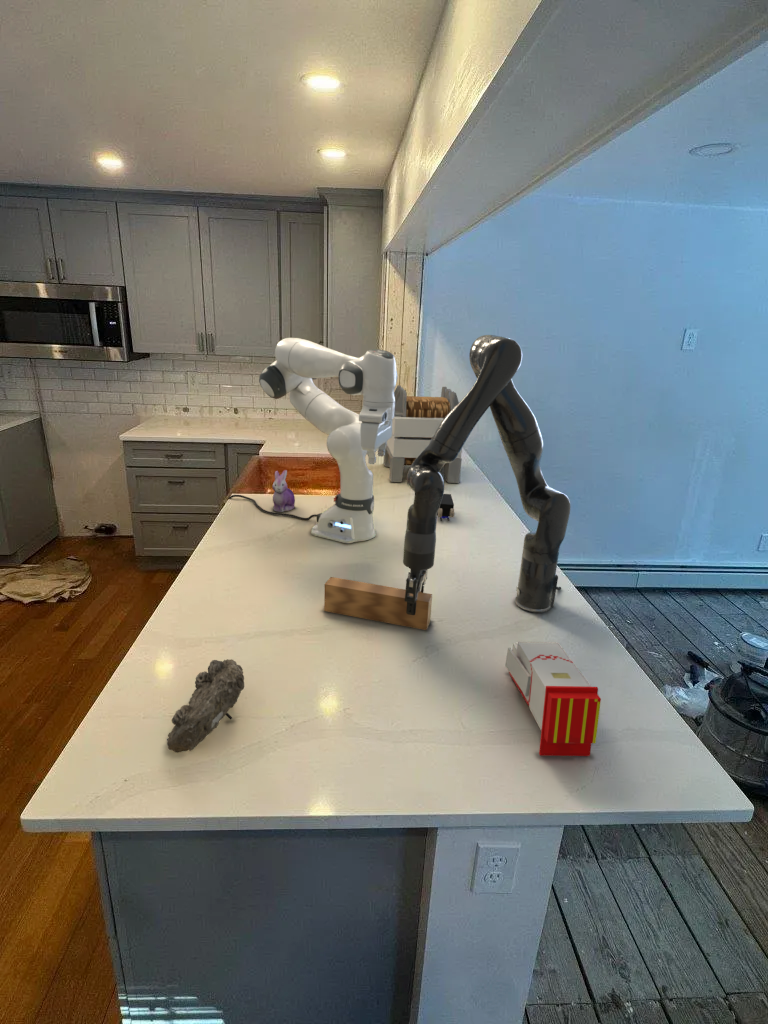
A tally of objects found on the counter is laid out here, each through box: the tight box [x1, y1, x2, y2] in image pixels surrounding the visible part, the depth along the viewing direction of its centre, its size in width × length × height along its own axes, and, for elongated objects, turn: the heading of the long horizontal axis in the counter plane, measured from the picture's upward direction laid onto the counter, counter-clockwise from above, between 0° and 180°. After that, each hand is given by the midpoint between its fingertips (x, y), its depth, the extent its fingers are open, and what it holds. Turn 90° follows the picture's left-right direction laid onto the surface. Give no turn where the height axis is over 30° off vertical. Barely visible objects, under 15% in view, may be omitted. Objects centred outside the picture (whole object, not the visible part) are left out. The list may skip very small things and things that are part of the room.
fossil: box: [166, 658, 245, 754], centre depth 106 cm, size 22×10×15 cm
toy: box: [505, 641, 602, 757], centre depth 113 cm, size 12×13×30 cm
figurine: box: [272, 469, 296, 513], centre depth 217 cm, size 9×10×15 cm
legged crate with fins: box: [383, 384, 463, 484], centre depth 268 cm, size 34×33×41 cm
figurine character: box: [437, 493, 455, 522], centre depth 217 cm, size 7×8×15 cm
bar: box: [323, 576, 433, 631], centre depth 145 cm, size 27×4×8 cm, turn 74°
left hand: (376, 459), depth 161 cm, fingers open, 8 cm apart
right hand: (414, 606), depth 142 cm, fingers open, 8 cm apart
